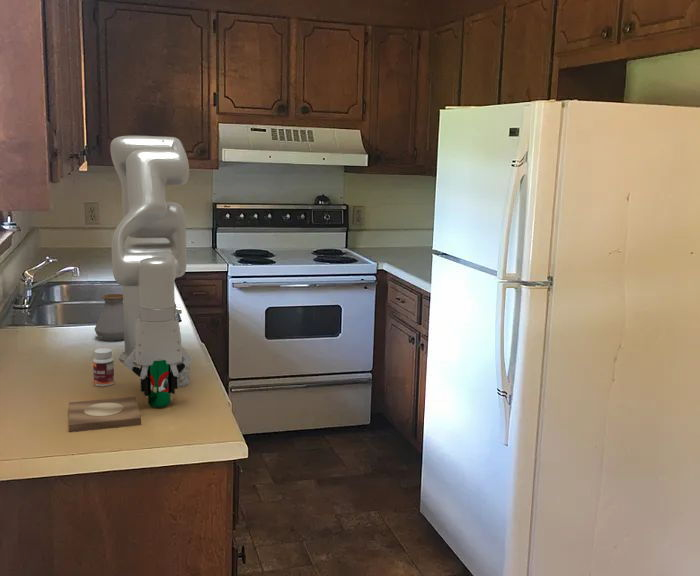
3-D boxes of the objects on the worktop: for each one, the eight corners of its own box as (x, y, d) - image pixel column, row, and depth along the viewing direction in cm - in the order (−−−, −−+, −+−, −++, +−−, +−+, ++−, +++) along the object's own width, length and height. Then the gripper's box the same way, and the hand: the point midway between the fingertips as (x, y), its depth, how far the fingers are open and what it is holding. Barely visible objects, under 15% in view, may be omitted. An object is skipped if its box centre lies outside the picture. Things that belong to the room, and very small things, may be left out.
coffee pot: (94, 343, 215) (92, 293, 213) (95, 334, 226) (93, 285, 223) (169, 340, 222) (168, 290, 219) (167, 330, 232) (166, 283, 230)
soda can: (173, 401, 169) (172, 350, 167) (168, 409, 164) (167, 356, 162) (150, 401, 169) (149, 350, 167) (145, 408, 164) (144, 356, 162)
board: (69, 408, 163) (68, 401, 162) (135, 402, 167) (135, 395, 167) (69, 432, 150) (69, 424, 149) (141, 424, 155) (140, 416, 154)
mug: (193, 380, 185) (192, 354, 183) (185, 388, 178) (185, 362, 177) (153, 378, 185) (153, 352, 184) (144, 386, 179) (144, 360, 177)
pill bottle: (89, 385, 179) (88, 351, 177) (102, 379, 183) (101, 347, 181) (105, 388, 177) (104, 354, 175) (118, 382, 181) (117, 349, 180)
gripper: (193, 308, 169) (195, 384, 172) (115, 312, 163) (118, 391, 166) (199, 315, 162) (200, 395, 165) (117, 320, 156) (120, 402, 159)
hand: (159, 392), depth 166 cm, fingers closed on soda can, 5 cm apart
